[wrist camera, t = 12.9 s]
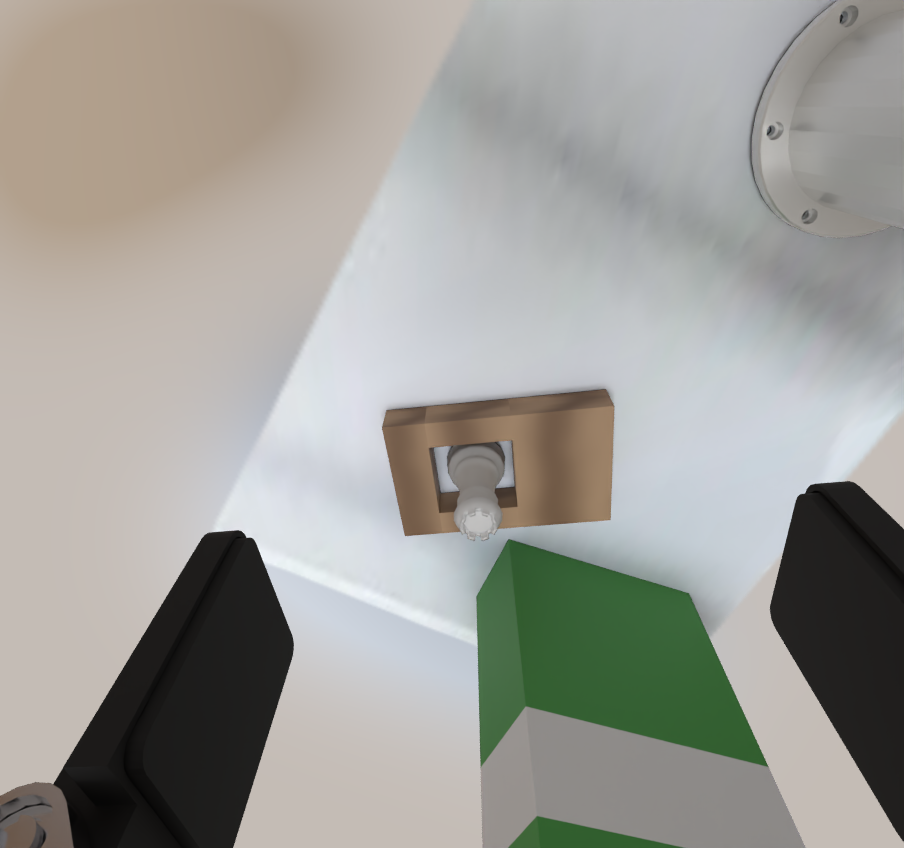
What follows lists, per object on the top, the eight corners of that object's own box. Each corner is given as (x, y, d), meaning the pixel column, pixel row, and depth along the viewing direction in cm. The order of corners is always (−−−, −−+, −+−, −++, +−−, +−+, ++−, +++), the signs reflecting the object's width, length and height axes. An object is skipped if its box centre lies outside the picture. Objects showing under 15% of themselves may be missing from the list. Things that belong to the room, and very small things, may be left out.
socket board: (606, 389, 39) (614, 405, 37) (603, 499, 44) (610, 519, 42) (386, 410, 41) (382, 427, 38) (407, 515, 46) (404, 535, 43)
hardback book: (688, 593, 49) (850, 946, 29) (646, 644, 53) (763, 990, 32) (508, 539, 47) (544, 886, 26) (476, 596, 50) (485, 942, 29)
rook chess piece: (508, 476, 43) (517, 547, 36) (453, 485, 44) (451, 556, 37) (499, 428, 41) (507, 494, 34) (441, 438, 42) (437, 505, 35)
